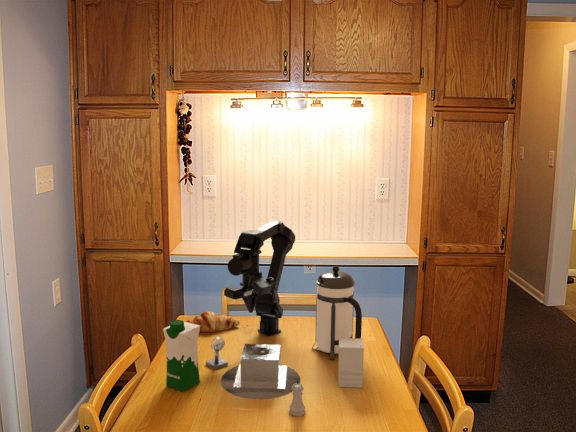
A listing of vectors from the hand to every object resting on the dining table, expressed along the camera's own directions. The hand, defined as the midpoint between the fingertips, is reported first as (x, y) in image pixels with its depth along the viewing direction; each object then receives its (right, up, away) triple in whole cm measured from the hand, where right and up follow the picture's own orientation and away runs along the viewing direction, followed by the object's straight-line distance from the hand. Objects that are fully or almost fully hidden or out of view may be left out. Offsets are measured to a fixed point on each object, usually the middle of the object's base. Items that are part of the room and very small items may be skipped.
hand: (250, 312), depth 190 cm
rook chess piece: (+15, -20, -42) cm, 49 cm away
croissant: (-16, -9, +17) cm, 25 cm away
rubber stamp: (-10, -14, -14) cm, 22 cm away
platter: (+5, -16, -23) cm, 29 cm away
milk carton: (-18, -17, -27) cm, 36 cm away
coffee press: (+29, -13, -3) cm, 32 cm away
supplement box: (+32, -17, -24) cm, 43 cm away
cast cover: (+5, -16, -23) cm, 29 cm away
